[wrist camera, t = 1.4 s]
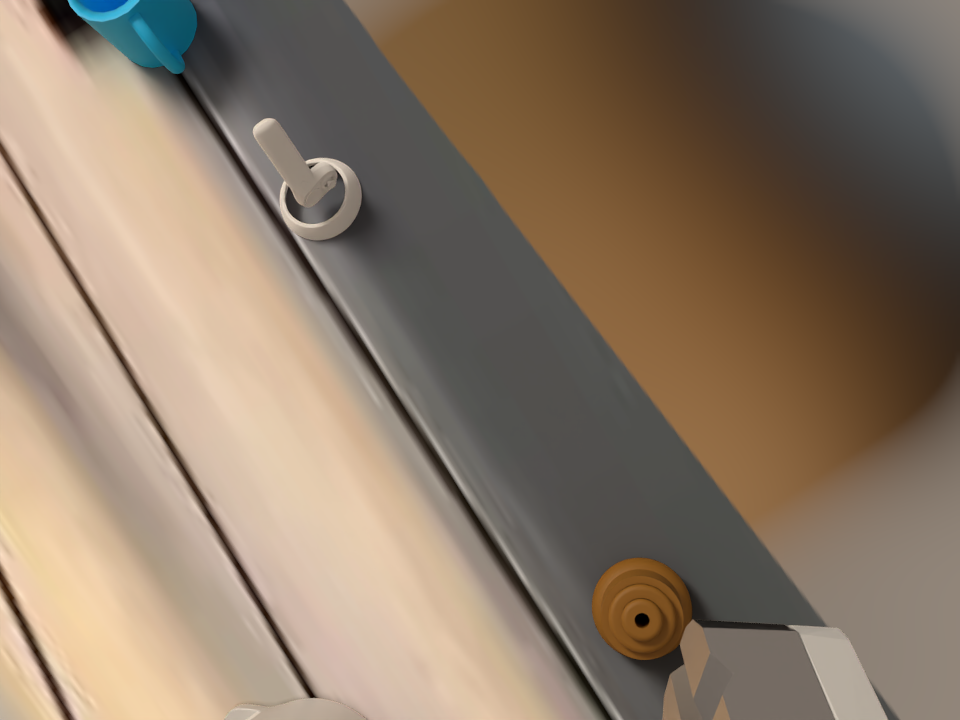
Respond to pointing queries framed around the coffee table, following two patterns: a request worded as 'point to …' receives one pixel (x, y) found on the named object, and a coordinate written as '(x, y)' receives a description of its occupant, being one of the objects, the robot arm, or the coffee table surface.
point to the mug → (144, 28)
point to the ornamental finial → (641, 608)
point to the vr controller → (308, 182)
